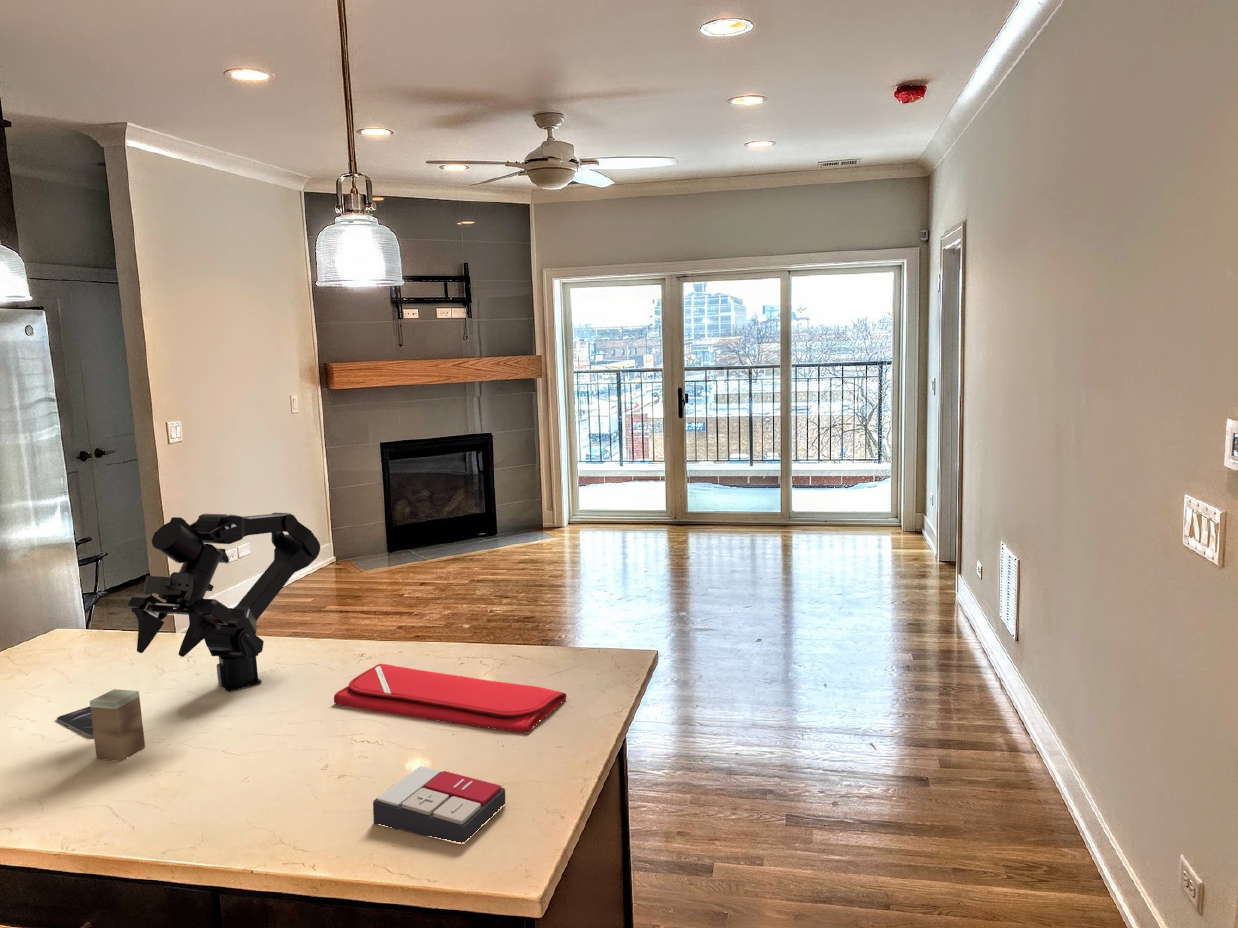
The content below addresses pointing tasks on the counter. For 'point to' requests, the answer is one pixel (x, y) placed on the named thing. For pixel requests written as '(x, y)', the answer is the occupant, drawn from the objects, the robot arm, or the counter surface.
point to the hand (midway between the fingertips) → (159, 654)
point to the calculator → (438, 804)
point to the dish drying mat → (449, 698)
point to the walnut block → (117, 724)
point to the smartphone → (79, 721)
